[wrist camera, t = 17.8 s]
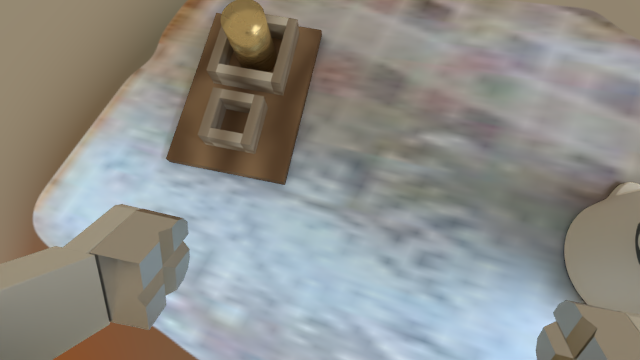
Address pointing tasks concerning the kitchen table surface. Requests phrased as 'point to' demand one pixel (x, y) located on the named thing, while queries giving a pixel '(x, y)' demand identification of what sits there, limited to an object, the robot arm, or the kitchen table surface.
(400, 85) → the kitchen table surface
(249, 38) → the gold metal cylinder
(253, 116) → the socket board
